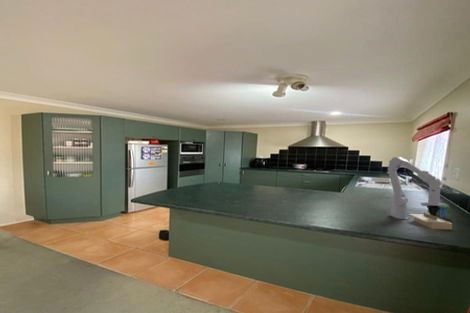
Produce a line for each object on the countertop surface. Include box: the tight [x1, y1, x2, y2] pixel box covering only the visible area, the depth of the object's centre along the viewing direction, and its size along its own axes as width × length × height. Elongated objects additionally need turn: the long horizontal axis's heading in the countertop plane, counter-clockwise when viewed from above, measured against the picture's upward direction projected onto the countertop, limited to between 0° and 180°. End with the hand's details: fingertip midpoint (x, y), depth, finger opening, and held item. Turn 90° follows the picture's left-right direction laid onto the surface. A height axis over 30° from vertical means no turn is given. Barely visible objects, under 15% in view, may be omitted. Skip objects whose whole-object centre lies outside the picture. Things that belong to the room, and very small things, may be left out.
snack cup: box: [427, 203, 451, 220], centre depth 170 cm, size 16×10×10 cm
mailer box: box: [413, 217, 453, 230], centre depth 154 cm, size 16×12×4 cm
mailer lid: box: [408, 211, 446, 223], centre depth 154 cm, size 16×12×3 cm
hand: (432, 216), depth 153 cm, fingers closed
